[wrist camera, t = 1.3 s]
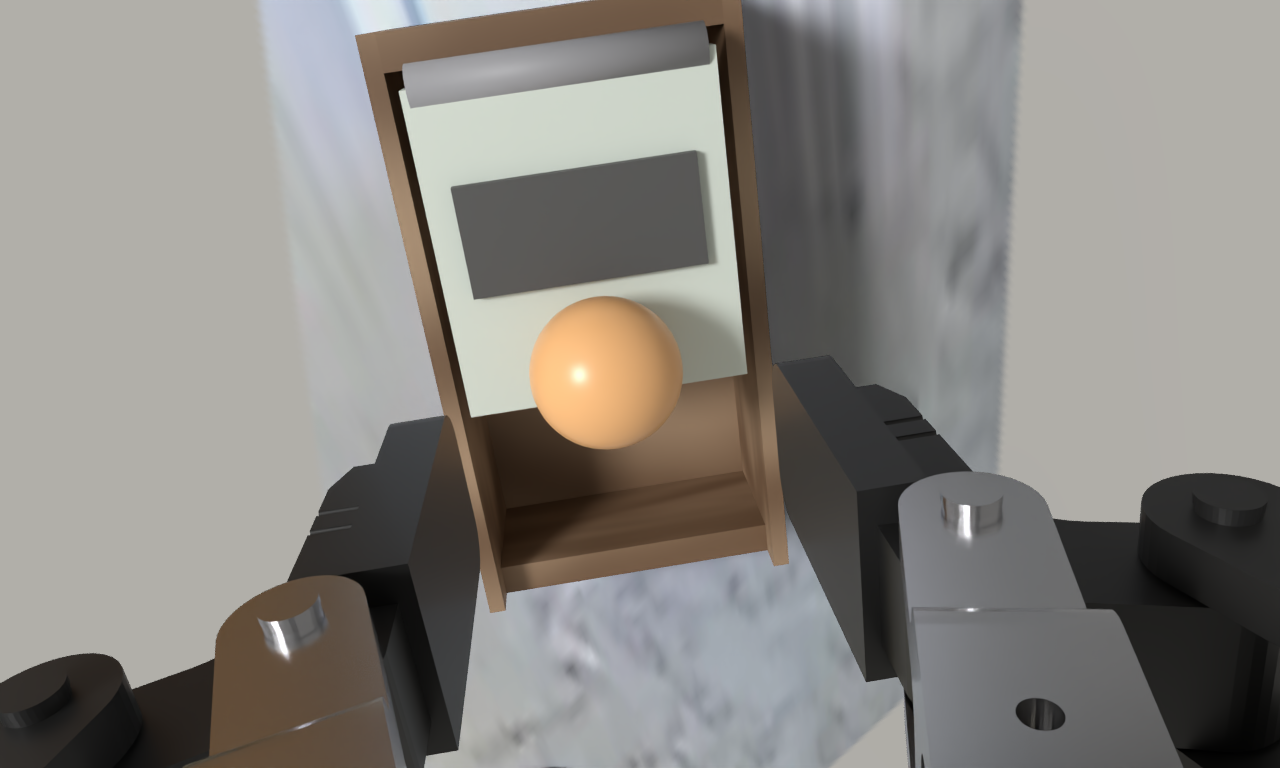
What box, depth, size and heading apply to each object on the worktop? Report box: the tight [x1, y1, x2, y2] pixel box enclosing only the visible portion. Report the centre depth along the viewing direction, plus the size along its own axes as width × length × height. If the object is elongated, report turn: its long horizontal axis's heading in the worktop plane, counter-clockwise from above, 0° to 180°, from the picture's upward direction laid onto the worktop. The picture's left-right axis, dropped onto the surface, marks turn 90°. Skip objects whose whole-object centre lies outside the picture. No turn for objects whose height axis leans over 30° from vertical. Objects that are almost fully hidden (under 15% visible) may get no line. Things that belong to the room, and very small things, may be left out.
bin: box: [355, 0, 789, 613], centre depth 31 cm, size 18×10×6 cm, turn 8°
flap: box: [399, 20, 747, 417], centre depth 26 cm, size 10×8×1 cm
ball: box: [529, 296, 683, 450], centre depth 25 cm, size 4×4×4 cm
